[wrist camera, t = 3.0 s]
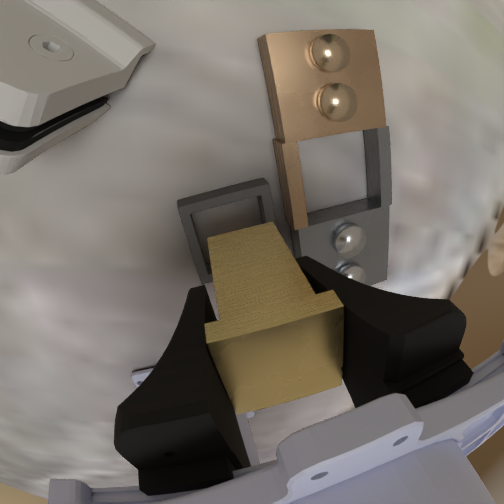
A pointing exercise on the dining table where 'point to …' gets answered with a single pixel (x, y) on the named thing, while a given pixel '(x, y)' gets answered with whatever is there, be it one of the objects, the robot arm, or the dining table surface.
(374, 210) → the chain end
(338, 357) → the pin
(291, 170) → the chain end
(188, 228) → the gray square frame
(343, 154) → the dining table surface
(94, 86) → the off-white striped device
